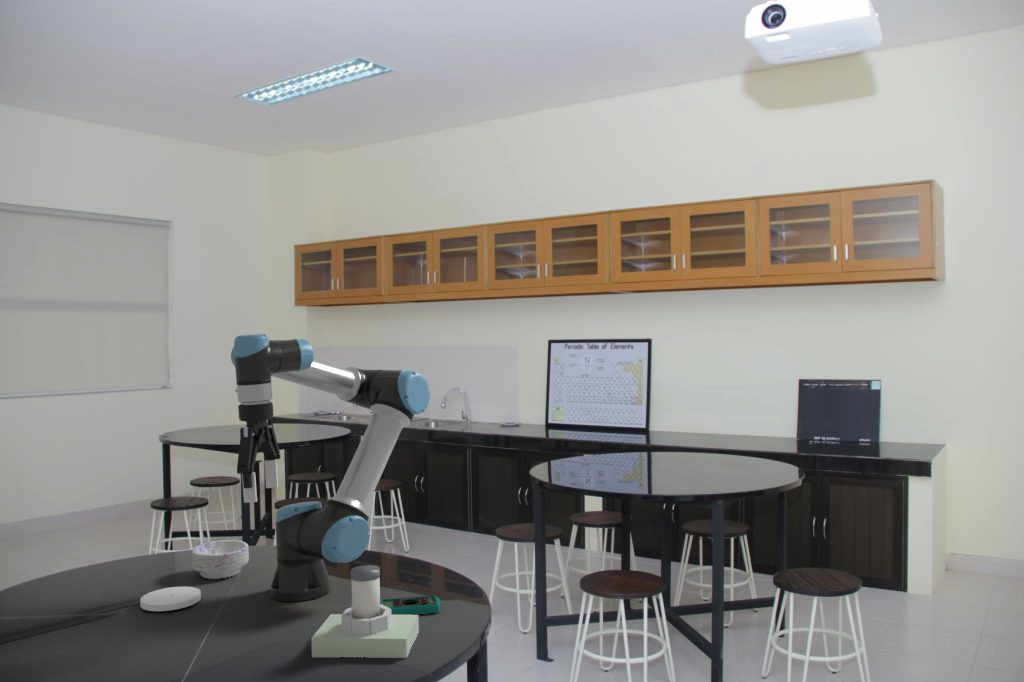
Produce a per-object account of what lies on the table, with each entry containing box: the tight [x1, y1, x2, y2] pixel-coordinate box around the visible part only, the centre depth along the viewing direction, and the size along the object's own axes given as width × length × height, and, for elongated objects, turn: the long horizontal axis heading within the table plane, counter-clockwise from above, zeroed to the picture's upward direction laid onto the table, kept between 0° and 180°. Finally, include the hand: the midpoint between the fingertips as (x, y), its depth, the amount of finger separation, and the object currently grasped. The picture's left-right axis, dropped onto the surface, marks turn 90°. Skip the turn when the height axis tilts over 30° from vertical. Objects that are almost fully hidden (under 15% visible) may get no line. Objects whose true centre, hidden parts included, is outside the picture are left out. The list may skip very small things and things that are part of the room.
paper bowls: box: [190, 539, 250, 580], centre depth 227 cm, size 15×15×8 cm
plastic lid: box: [139, 586, 202, 612], centre depth 203 cm, size 14×14×2 cm
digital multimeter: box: [380, 594, 441, 615], centre depth 195 cm, size 7×15×3 cm, turn 101°
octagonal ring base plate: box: [311, 604, 420, 659], centre depth 174 cm, size 14×20×7 cm
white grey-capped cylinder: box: [350, 564, 381, 619], centre depth 174 cm, size 6×6×12 cm
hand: (261, 494), depth 184 cm, fingers open, 13 cm apart
